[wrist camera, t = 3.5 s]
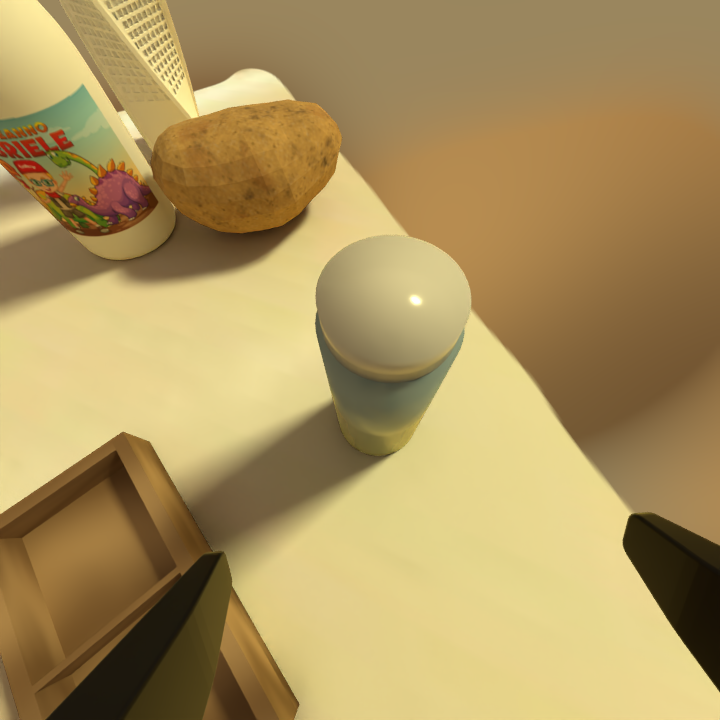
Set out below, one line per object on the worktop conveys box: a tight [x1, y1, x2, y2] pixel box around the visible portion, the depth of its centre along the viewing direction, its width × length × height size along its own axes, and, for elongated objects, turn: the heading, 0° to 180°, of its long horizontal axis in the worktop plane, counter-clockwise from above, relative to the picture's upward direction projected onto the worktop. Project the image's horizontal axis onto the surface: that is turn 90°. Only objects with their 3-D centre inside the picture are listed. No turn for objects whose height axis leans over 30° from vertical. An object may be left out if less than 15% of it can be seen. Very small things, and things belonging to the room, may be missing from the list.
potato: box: [150, 100, 342, 233], centre depth 26 cm, size 10×14×8 cm
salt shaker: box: [315, 235, 471, 456], centre depth 16 cm, size 5×5×13 cm
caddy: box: [0, 432, 299, 720], centre depth 16 cm, size 16×8×3 cm, turn 40°
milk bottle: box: [0, 0, 176, 260], centre depth 20 cm, size 8×8×20 cm
